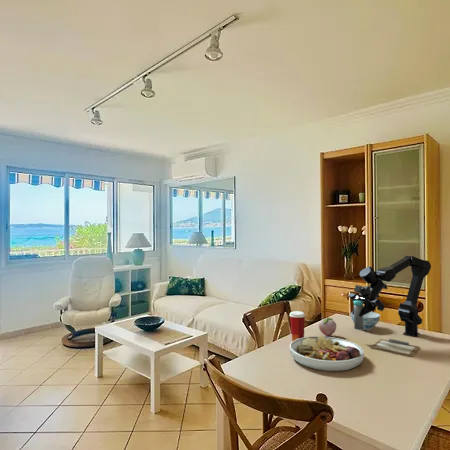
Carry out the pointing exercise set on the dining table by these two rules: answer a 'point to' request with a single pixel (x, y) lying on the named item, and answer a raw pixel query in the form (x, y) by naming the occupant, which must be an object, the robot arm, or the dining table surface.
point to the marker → (357, 319)
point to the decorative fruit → (327, 326)
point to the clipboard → (396, 347)
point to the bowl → (326, 353)
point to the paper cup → (297, 324)
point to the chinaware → (368, 320)
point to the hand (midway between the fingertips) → (356, 315)
